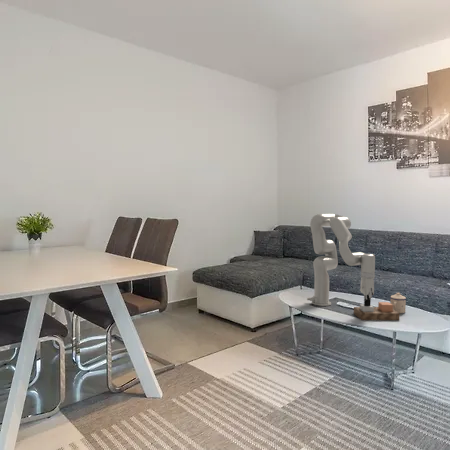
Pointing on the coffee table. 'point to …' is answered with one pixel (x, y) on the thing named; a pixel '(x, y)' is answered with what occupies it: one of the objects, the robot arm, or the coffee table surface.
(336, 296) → the coffee table surface
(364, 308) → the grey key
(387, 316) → the brown slotted base
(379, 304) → the salmon orange block
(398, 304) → the teacup with lid
